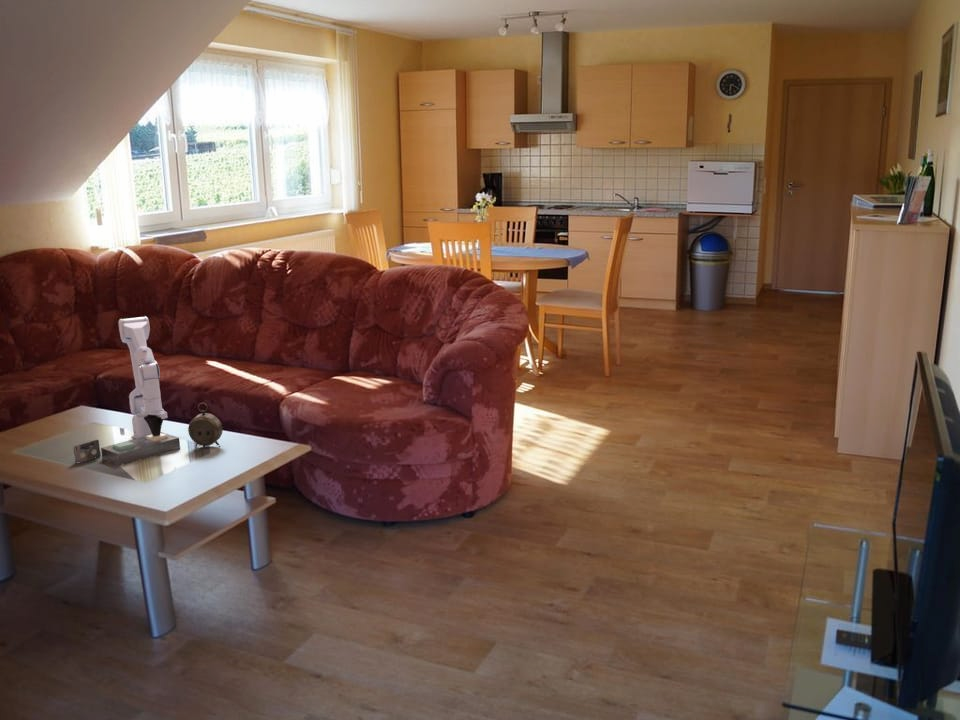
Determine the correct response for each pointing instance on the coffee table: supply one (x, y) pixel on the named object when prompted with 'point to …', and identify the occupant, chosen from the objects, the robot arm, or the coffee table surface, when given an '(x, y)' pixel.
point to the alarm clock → (205, 429)
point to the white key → (156, 437)
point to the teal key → (123, 446)
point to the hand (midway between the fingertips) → (156, 435)
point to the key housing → (140, 450)
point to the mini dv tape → (86, 451)
